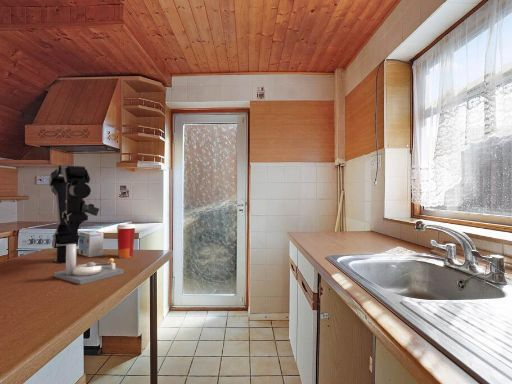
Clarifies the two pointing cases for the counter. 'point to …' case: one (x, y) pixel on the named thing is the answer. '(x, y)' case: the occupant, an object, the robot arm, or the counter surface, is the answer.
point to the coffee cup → (125, 240)
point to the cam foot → (83, 268)
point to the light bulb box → (91, 243)
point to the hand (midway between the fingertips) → (74, 237)
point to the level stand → (105, 273)
